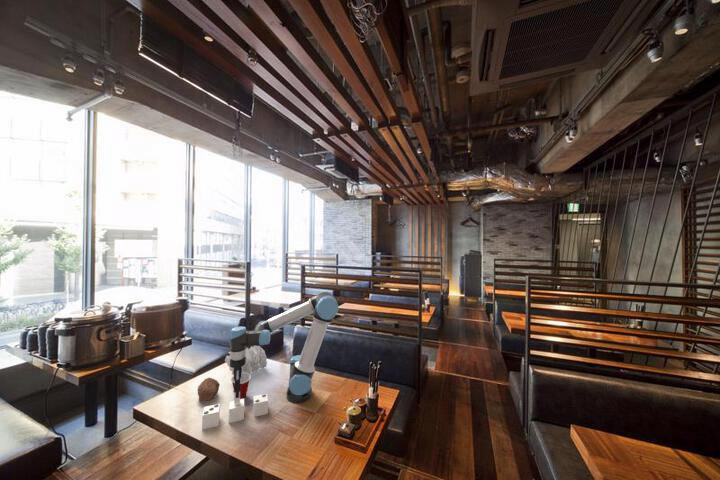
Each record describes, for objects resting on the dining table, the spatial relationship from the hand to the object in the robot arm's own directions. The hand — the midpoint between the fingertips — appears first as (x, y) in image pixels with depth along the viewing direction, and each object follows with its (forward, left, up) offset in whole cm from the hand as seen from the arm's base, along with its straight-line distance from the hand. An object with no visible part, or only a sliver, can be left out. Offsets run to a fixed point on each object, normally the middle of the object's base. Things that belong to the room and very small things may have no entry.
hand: (237, 402), depth 137 cm
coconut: (+26, -14, -8) cm, 31 cm away
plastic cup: (+7, -16, -8) cm, 19 cm away
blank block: (0, 0, -8) cm, 8 cm away
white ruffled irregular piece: (+17, -42, -8) cm, 46 cm away
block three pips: (+10, +6, -8) cm, 14 cm away
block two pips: (-10, -6, -8) cm, 14 cm away
